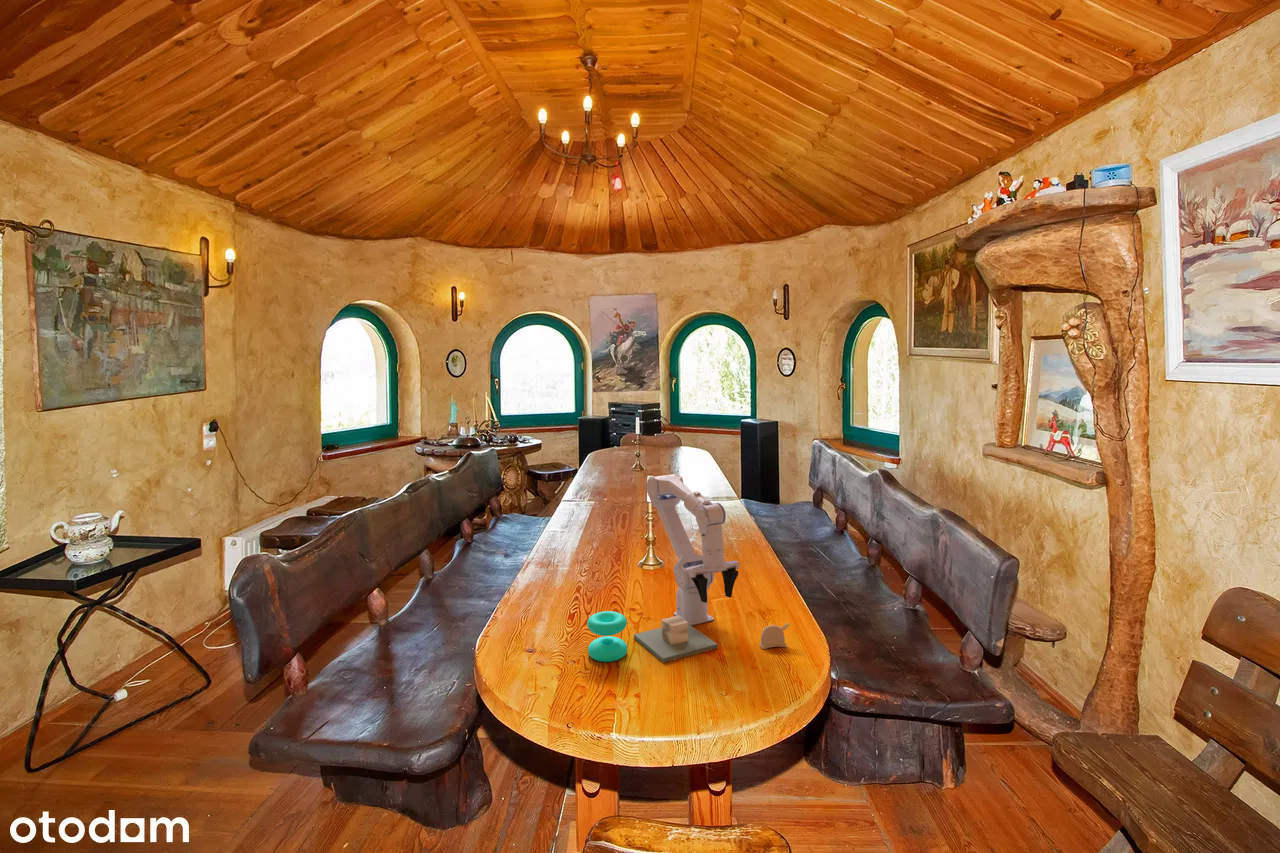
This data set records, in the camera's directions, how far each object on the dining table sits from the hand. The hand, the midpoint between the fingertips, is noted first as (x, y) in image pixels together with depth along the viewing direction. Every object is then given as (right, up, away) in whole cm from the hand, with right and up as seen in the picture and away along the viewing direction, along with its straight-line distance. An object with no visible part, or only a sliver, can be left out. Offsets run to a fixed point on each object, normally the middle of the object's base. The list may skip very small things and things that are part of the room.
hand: (716, 599), depth 182 cm
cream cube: (-11, -9, -5) cm, 16 cm away
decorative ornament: (+14, -10, -7) cm, 19 cm away
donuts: (-29, -12, -10) cm, 33 cm away
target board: (-11, -10, -5) cm, 16 cm away
